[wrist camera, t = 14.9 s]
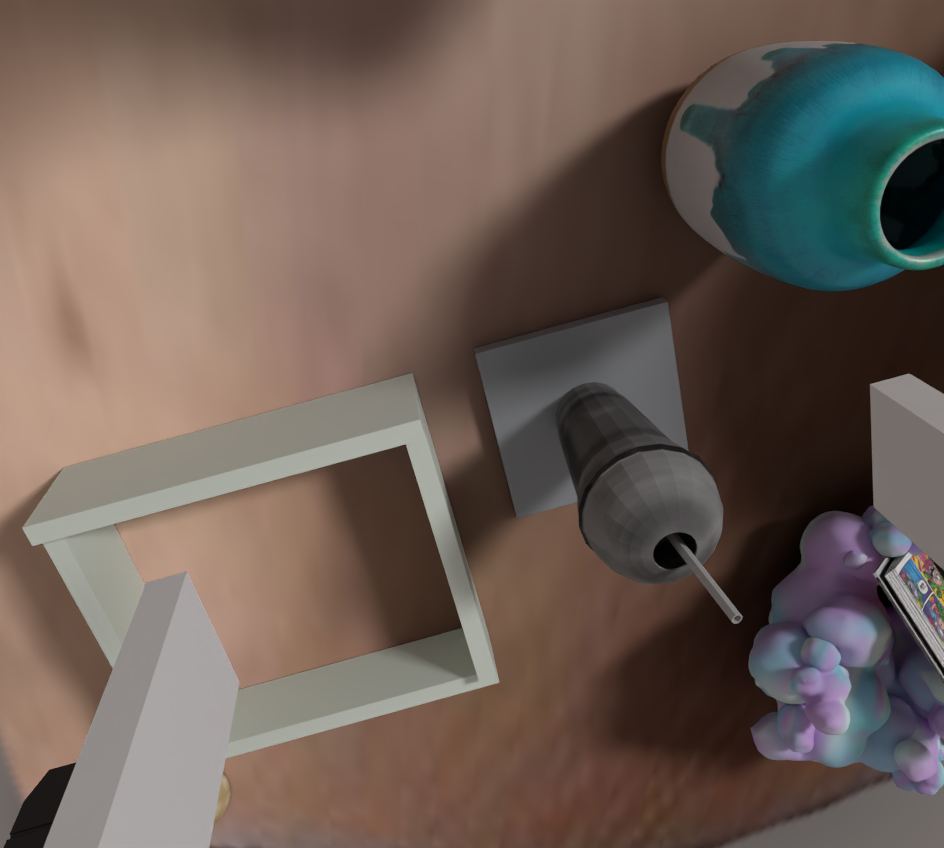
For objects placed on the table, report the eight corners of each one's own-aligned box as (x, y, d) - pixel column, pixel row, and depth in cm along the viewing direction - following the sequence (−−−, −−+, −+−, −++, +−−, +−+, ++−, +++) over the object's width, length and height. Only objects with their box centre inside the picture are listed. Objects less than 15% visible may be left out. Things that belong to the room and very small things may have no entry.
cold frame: (63, 467, 51) (21, 528, 45) (412, 372, 51) (420, 419, 45) (193, 716, 60) (173, 795, 54) (488, 634, 60) (504, 703, 54)
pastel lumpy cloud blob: (663, 722, 60) (895, 939, 48) (782, 463, 51) (1102, 654, 39) (808, 646, 72) (1017, 803, 61) (923, 430, 64) (1194, 565, 52)
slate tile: (473, 348, 51) (475, 353, 50) (662, 297, 51) (667, 301, 50) (514, 510, 56) (517, 518, 55) (686, 463, 56) (691, 470, 55)
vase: (724, 271, 51) (912, 388, 34) (599, 159, 47) (739, 226, 30) (852, 127, 48) (1129, 174, 31) (731, -4, 45) (968, -32, 27)
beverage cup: (563, 345, 50) (680, 518, 32) (665, 382, 52) (829, 564, 34) (515, 447, 53) (598, 660, 35) (615, 479, 55) (742, 696, 37)
